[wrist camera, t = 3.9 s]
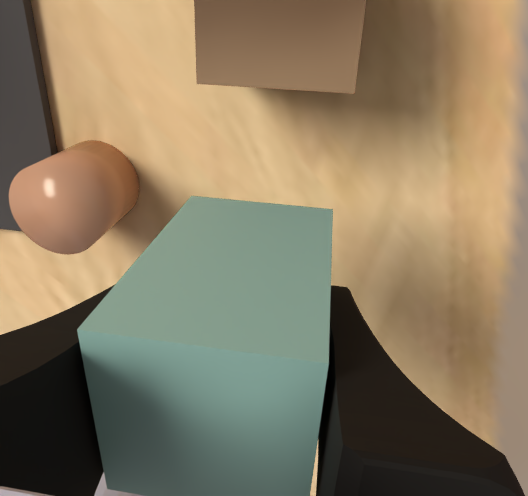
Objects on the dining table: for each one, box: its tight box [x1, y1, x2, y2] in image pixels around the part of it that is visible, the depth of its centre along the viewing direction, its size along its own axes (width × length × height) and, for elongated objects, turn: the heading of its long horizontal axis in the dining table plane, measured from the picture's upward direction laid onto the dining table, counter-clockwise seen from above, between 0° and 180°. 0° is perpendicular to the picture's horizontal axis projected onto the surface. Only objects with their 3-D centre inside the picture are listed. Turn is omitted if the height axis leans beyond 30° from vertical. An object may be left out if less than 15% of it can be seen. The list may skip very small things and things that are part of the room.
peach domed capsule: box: [9, 141, 139, 254], centre depth 20 cm, size 4×4×4 cm
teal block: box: [77, 196, 333, 496], centre depth 12 cm, size 4×4×7 cm
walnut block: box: [194, 0, 366, 94], centre depth 15 cm, size 5×5×5 cm
